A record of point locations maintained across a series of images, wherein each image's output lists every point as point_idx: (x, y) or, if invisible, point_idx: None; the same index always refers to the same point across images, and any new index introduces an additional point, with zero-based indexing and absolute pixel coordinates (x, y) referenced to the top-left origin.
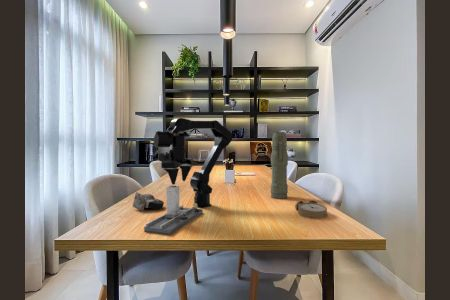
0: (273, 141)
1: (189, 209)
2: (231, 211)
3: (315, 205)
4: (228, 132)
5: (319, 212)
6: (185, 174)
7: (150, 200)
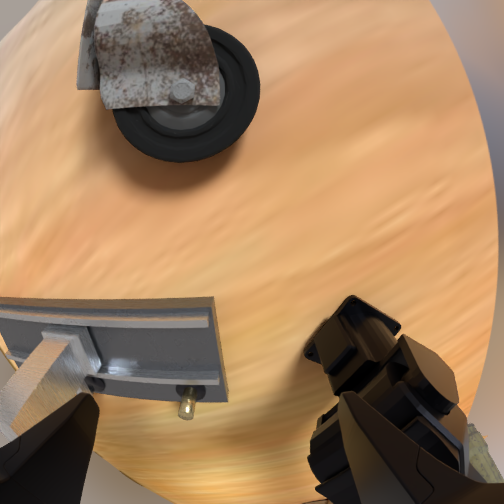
0: None
1: (160, 382)
2: (291, 442)
3: None
4: None
5: None
6: (364, 481)
7: (138, 84)
